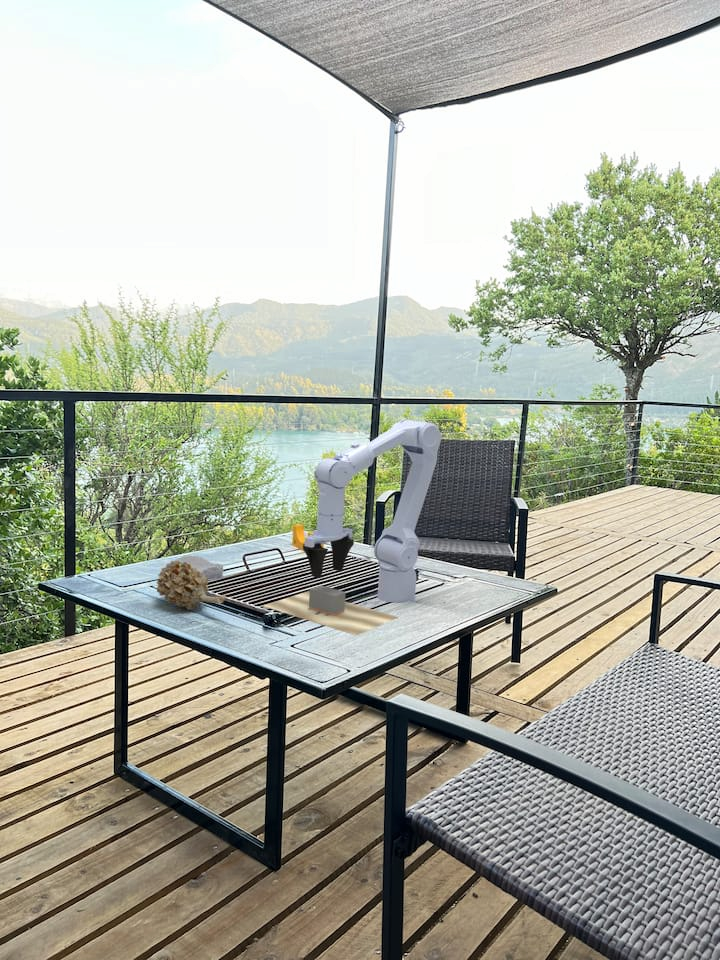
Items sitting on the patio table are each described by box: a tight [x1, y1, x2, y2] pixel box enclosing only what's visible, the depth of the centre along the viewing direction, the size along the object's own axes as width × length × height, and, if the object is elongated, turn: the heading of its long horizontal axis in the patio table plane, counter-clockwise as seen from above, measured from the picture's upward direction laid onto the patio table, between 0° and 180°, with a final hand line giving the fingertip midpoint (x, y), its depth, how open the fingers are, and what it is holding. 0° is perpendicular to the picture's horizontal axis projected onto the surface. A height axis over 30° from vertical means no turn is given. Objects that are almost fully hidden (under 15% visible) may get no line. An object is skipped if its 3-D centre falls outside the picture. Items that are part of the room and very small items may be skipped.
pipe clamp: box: [291, 524, 325, 553], centre depth 234 cm, size 12×4×6 cm, turn 30°
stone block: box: [175, 555, 224, 581], centre depth 202 cm, size 12×5×10 cm
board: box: [262, 590, 399, 636], centre depth 175 cm, size 16×26×2 cm, turn 54°
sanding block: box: [309, 585, 346, 616], centre depth 175 cm, size 4×7×4 cm, turn 54°
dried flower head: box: [156, 560, 226, 611], centre depth 174 cm, size 22×10×10 cm, turn 56°
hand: (327, 573), depth 174 cm, fingers open, 7 cm apart
